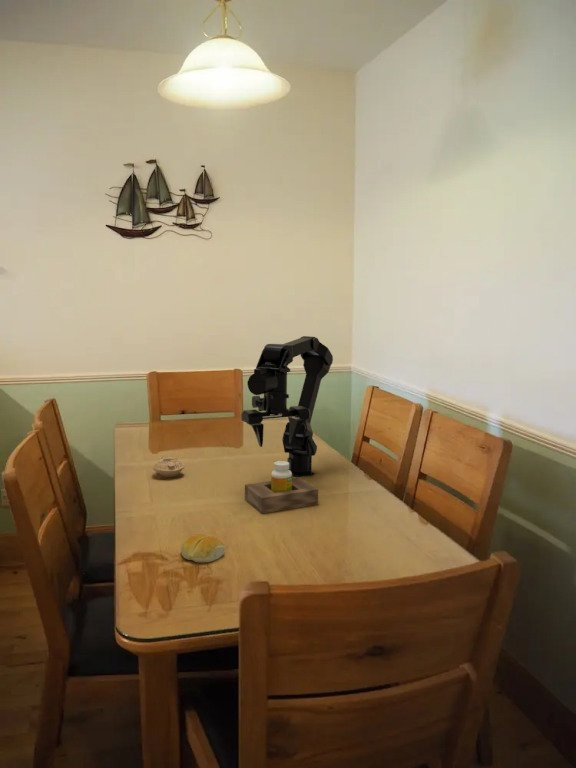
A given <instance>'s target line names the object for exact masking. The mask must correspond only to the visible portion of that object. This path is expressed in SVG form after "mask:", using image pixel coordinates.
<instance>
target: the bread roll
mask: <svg viewBox="0 0 576 768" xmlns="http://www.w3.org/2000/svg"><path fill="white" fill-rule="evenodd" d="M180 547H181V549H180V551H181V552H180V553H181V556H182V557H183V558H184V559H186V560H189V561H193V562H195V563H201V564H202V563H203V564H204V563H210V562H211V563H212V562H214V561H216V560H218V559H220V558H221V557H223V555H224V553H225V545H224V542H223V541H221V540H220V539H219V538H217V537H214V536H208V535H206V534H203V533H198V534H192V535H190V536H188V537H186V538H185V539H184V540H183V541H182V543H181V546H180Z"/></svg>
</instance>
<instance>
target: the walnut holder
mask: <svg viewBox="0 0 576 768" xmlns="http://www.w3.org/2000/svg"><path fill="white" fill-rule="evenodd" d="M244 501H246V502H247V503H249V505H251V506H252V507H254V509H256V510H257V511H258V512H259V513H260V514H267V513H273V512H280V511H284V510H291V509H296V508H297V509H298V508H302V507H303V508H304V507H309V506H314V505H318V504H319V488H317V487H315V486H313V485H312V484H311V483H309V482H307V481H306V480H304V479H302V478H301V477H300V476H296V477H292V491H285V492H279V493H274V492H273V491H271V480H270V481H269V480H268V481H264V482H256V483H249V484H248V483H247V484H244Z"/></svg>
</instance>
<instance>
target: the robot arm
mask: <svg viewBox="0 0 576 768" xmlns="http://www.w3.org/2000/svg"><path fill="white" fill-rule="evenodd" d="M297 356H298V357H299V356H300V357H301V359H302V360H303V370H304V373H305V377H304V380H303V381H304V382H303V385H302V389H301V393H300V397H299V400H298V404H297V405H294V406H289V408H287V404H288V401H287V399H289V398H290V394H288V373H291V369H290V367H289V365H290V364H291V363H293V361H294V358H295V357H297ZM333 360H334V357H333V353H332V352H331V351H330V348H328V346H326V345H325V344H323V343H322V342H320V340H319V339H318V337H316V336H306V335H305V336H304V335H303V336H301V337H299V338H297V339H294V340H291V341H288V342H285V343H266V345H264V348H263V349H262V351H261V354H260V356H259V359H258V362H257V363H256V366H255V369H254V370H253V373H252V374H251V375H250V376H249V378H248V380H247V387H248V390H249V392H250V393H251V394H253V395H254V396H251V407H252V409H246V410H243V411H242V413H241V421H243V422H244V423H246V424H247V425H249V426H251V428H252V429H253V432H254V435H255V437H256V439H257V443H258V446H259V447H260V448H261V447H263V444H264V426H265V425H264V423H262V422H263V420H267V419H268V420H269V419H280V418H288V421H289V422H287V423H286V424H285V429H284V431H283V434H282V445H283V450H284V451H283V452H284V453H285V454H286V453H287V454H288V458H287V461H286V462H289V469H288V470H290V471H291V472H292V476H294V477H304V476H307V475H308V476H310V475H314V474H315V472H314V471H312V464H313V463H312V462H313V461H312V460H313V456H315V455H316V454H317V451H318V450H317V449H318V445H317V444H316V442H315V440H314V439H313V436H314V432H313V429H312V426H311V421H312V418H313V414H314V409H315V406H316V402H317V398H318V394H319V390H320V386H321V382H322V379H324V377H325V376H326V375H327V374H328V373H329V372H330V370H331V369H330V368H331V367H332V366H331V365H332V364H333ZM260 395H263V397H261V396H260ZM254 408H258V409H254Z"/></svg>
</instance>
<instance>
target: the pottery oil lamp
mask: <svg viewBox="0 0 576 768" xmlns="http://www.w3.org/2000/svg"><path fill="white" fill-rule="evenodd" d="M185 468H186V464H184V463H183V461H182V460H180V459H179V458H174V457H171V456H169V455H166V456H161V459H159V460H158V461H157V462H156V463H155V464H154V465H153V467H152V469H153V471H155V472H156V473H158V474H159V475H161V476H162V477H166V478H172V477H176V476H177V475H178V474H179V473H181V472H182V471H184V469H185Z"/></svg>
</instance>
